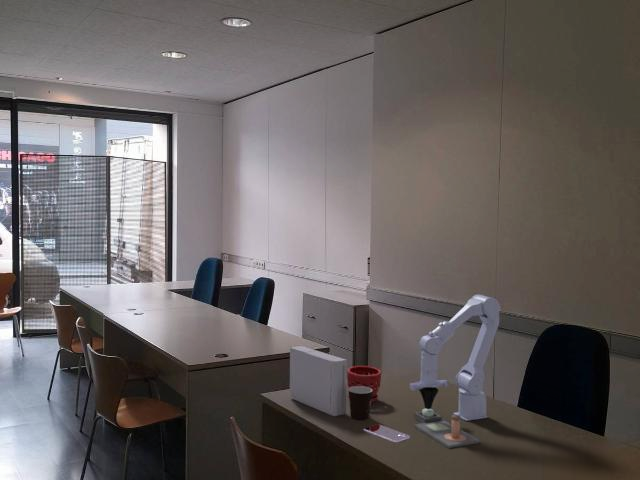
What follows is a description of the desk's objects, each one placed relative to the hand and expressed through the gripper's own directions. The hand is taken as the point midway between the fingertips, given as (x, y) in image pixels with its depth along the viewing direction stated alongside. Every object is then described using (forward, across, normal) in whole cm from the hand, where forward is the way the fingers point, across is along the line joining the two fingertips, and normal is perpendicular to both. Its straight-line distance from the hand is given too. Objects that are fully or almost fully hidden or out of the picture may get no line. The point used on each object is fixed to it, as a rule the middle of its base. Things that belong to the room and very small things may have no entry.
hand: (427, 408), depth 217 cm
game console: (+5, -31, +28) cm, 42 cm away
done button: (+4, 0, 0) cm, 4 cm away
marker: (+3, -2, -19) cm, 19 cm away
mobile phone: (+5, -20, -6) cm, 21 cm away
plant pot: (+5, -11, +28) cm, 30 cm away
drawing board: (+4, -2, -14) cm, 15 cm away
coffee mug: (+5, -20, +12) cm, 24 cm away
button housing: (+4, 0, 0) cm, 4 cm away
